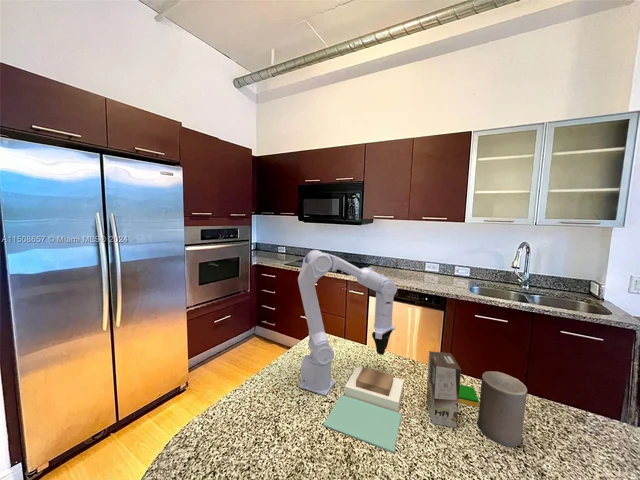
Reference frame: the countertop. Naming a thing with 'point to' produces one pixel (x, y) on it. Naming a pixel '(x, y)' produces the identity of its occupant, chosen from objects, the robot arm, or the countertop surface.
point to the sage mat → (365, 422)
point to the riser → (372, 397)
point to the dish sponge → (468, 396)
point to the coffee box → (443, 388)
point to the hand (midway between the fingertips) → (381, 351)
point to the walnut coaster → (375, 381)
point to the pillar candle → (502, 408)
